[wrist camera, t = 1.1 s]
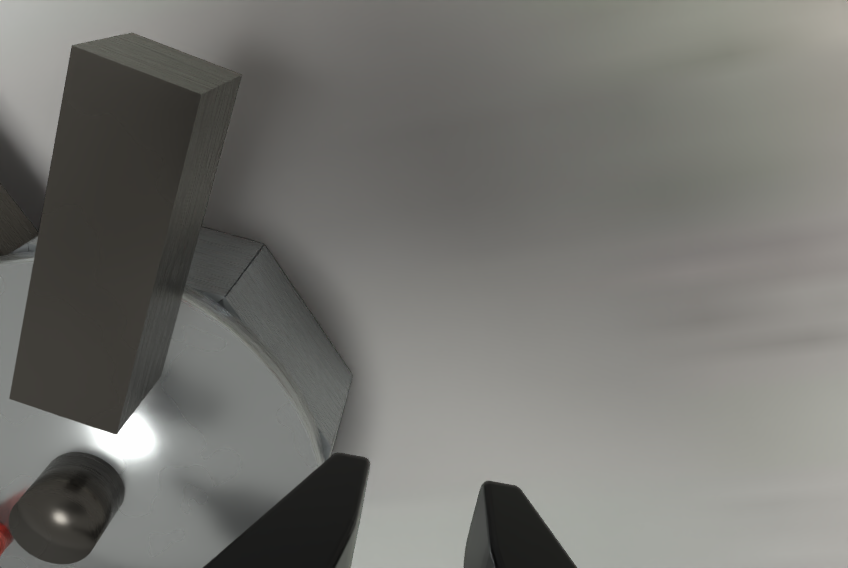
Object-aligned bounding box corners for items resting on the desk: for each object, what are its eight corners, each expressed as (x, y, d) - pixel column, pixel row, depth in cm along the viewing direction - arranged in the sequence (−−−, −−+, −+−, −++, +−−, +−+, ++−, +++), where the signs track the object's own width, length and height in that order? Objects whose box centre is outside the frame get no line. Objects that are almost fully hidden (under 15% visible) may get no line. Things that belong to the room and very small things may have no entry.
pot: (445, 513, 24) (440, 600, 21) (165, 629, 27) (121, 723, 24) (60, -60, 19) (-31, -65, 15) (-248, 161, 21) (-382, 198, 18)
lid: (257, 687, 23) (225, 796, 20) (-145, 559, 22) (-243, 654, 19) (472, 153, 16) (471, 197, 13) (-88, -62, 15) (-224, -67, 12)
